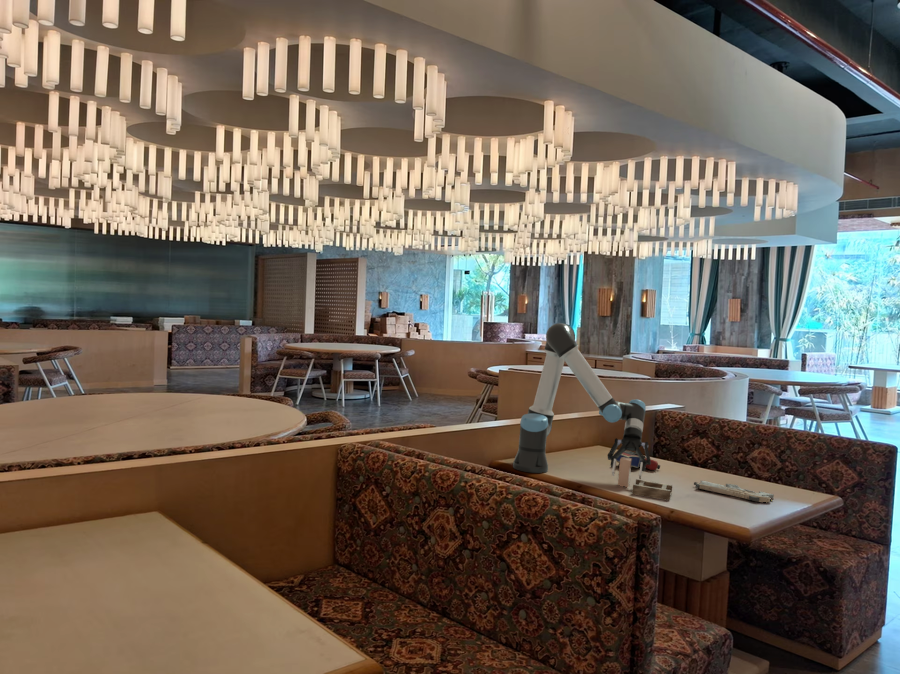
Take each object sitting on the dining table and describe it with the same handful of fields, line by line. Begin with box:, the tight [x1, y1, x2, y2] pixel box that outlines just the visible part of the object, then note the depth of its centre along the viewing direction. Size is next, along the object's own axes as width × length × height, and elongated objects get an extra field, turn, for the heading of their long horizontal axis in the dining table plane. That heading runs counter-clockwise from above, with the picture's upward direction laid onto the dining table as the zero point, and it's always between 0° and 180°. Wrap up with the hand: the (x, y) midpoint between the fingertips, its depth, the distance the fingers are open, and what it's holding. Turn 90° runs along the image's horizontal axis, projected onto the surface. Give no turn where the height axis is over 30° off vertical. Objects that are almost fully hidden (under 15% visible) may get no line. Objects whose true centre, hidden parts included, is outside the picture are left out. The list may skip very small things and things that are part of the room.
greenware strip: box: [617, 457, 632, 488], centre depth 278 cm, size 4×5×11 cm
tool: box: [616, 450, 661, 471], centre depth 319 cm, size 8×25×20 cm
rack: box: [631, 478, 673, 501], centre depth 267 cm, size 14×12×4 cm
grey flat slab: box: [693, 480, 775, 504], centre depth 280 cm, size 30×3×20 cm
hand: (626, 475), depth 275 cm, fingers open, 10 cm apart
